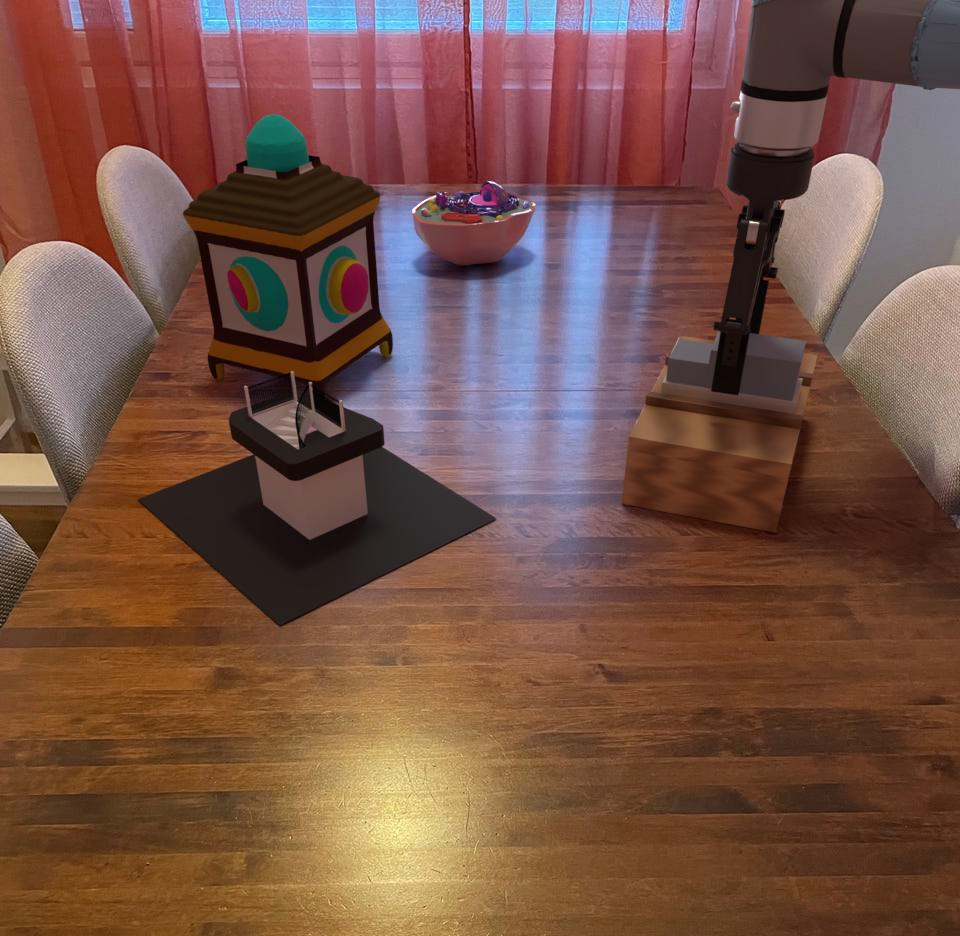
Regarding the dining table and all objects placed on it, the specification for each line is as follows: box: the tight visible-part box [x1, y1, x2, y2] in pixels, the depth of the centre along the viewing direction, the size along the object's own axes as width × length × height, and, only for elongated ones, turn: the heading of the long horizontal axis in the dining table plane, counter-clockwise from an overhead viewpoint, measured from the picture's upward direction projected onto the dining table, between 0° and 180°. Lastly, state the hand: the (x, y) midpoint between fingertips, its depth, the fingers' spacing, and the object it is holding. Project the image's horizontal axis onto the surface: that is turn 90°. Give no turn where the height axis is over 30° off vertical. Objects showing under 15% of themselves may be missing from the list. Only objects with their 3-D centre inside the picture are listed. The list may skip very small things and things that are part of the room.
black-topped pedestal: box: [137, 371, 498, 626], centre depth 98 cm, size 28×26×13 cm
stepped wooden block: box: [621, 335, 818, 534], centre depth 108 cm, size 16×26×9 cm, turn 160°
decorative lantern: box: [182, 114, 394, 399], centre depth 119 cm, size 20×20×30 cm
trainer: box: [661, 331, 807, 414], centre depth 103 cm, size 14×6×6 cm, turn 70°
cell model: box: [411, 180, 537, 266], centre depth 155 cm, size 17×20×11 cm
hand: (735, 364), depth 103 cm, fingers open, 13 cm apart
